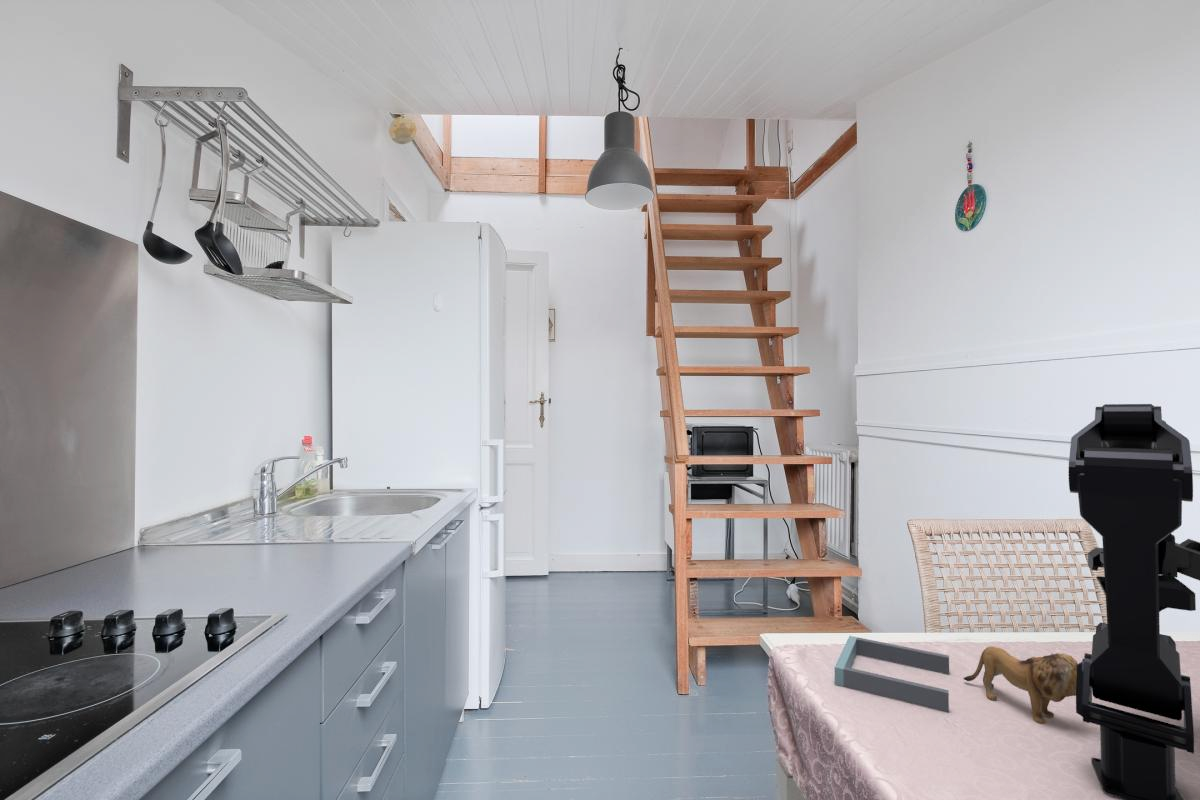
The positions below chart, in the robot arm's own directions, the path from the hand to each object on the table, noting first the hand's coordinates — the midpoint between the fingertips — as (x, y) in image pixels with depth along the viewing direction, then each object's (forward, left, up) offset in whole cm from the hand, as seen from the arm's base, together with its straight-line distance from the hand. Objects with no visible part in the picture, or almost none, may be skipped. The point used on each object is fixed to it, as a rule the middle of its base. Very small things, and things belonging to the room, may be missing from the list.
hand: (1136, 644), depth 69 cm
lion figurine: (0, +11, -11) cm, 16 cm away
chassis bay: (0, +27, -11) cm, 29 cm away
